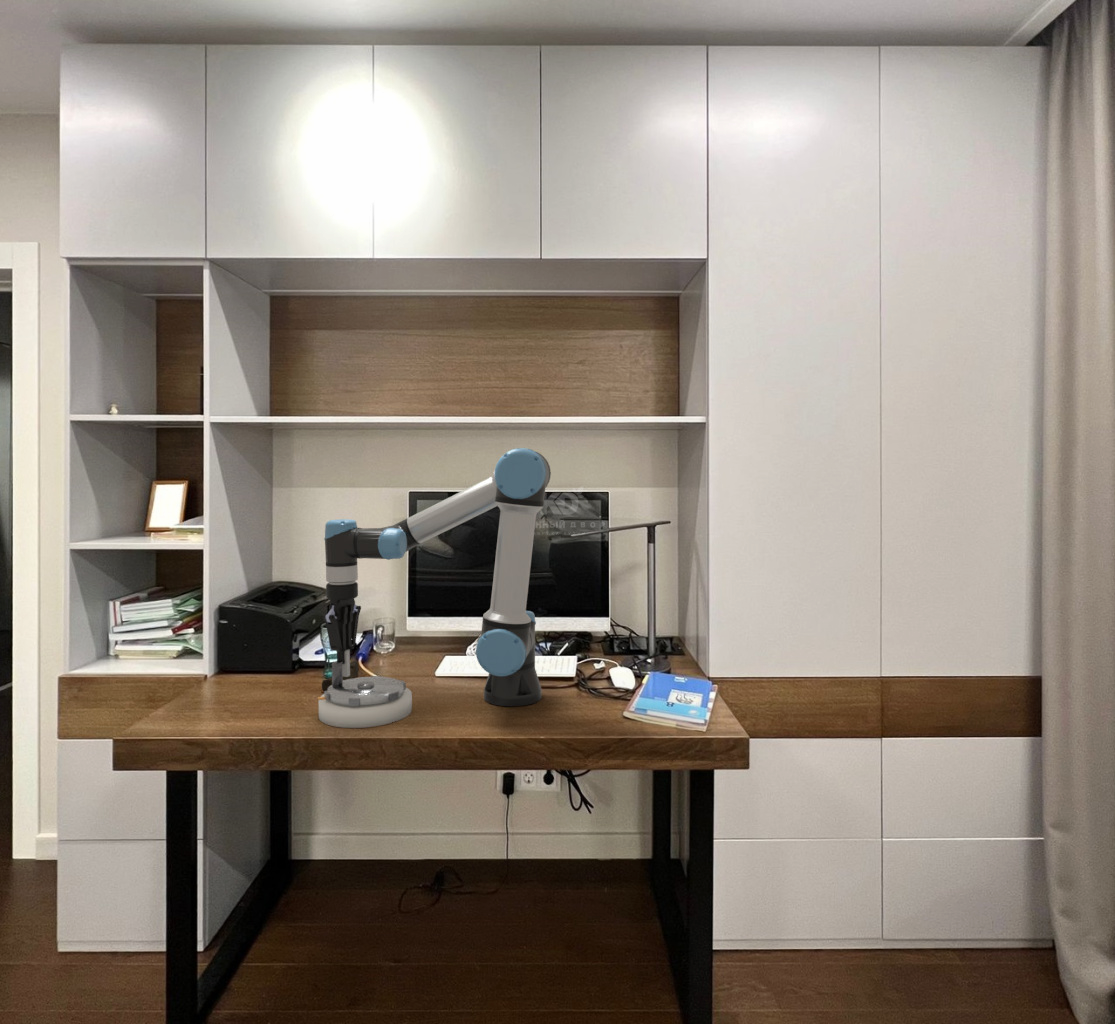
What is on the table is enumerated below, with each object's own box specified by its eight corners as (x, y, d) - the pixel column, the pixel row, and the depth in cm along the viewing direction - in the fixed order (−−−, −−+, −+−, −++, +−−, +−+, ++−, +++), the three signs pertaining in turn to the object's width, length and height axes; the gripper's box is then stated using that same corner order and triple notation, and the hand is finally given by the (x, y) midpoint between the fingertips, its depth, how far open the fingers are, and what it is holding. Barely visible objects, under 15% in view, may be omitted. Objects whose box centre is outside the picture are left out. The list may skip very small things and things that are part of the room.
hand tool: (335, 694, 188) (334, 677, 188) (321, 693, 189) (321, 676, 189) (366, 675, 207) (366, 659, 207) (354, 674, 208) (354, 659, 207)
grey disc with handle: (411, 684, 182) (411, 653, 182) (392, 707, 163) (392, 673, 163) (342, 683, 182) (341, 652, 182) (315, 707, 163) (314, 672, 163)
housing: (427, 703, 180) (427, 686, 180) (381, 732, 159) (381, 713, 159) (353, 695, 187) (352, 679, 186) (299, 722, 166) (298, 703, 166)
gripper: (344, 577, 181) (346, 667, 183) (312, 585, 169) (315, 681, 171) (369, 578, 179) (371, 670, 181) (339, 587, 167) (341, 684, 169)
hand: (343, 675), depth 176 cm, fingers closed
